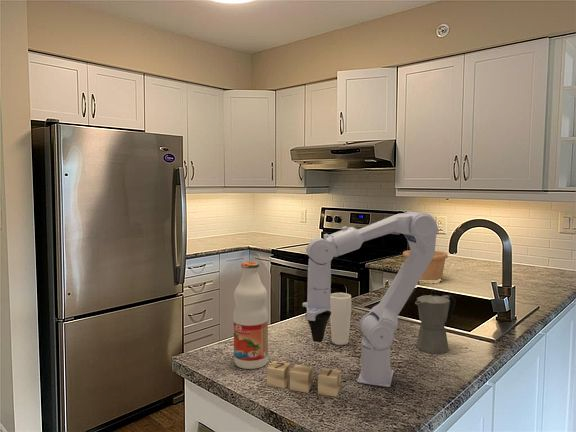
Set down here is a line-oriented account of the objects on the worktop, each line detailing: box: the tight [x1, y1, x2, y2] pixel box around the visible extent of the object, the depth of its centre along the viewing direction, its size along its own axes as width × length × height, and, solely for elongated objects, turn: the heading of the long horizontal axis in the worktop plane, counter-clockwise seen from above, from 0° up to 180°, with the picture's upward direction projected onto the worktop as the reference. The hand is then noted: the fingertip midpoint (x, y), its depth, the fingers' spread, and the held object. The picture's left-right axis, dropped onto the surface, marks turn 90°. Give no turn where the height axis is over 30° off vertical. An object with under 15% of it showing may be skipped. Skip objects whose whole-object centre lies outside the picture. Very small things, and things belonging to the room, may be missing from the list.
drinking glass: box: [329, 292, 352, 346], centre depth 135 cm, size 7×7×15 cm
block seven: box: [266, 360, 291, 389], centre depth 108 cm, size 4×4×5 cm
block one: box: [317, 367, 342, 397], centre depth 104 cm, size 4×4×5 cm
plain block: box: [289, 364, 314, 393], centre depth 106 cm, size 4×4×4 cm
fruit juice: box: [233, 261, 269, 370], centre depth 119 cm, size 9×9×28 cm
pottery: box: [402, 249, 449, 280], centre depth 222 cm, size 22×22×14 cm
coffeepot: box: [414, 288, 457, 355], centre depth 130 cm, size 15×9×18 cm, turn 115°
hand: (317, 340), depth 108 cm, fingers closed
